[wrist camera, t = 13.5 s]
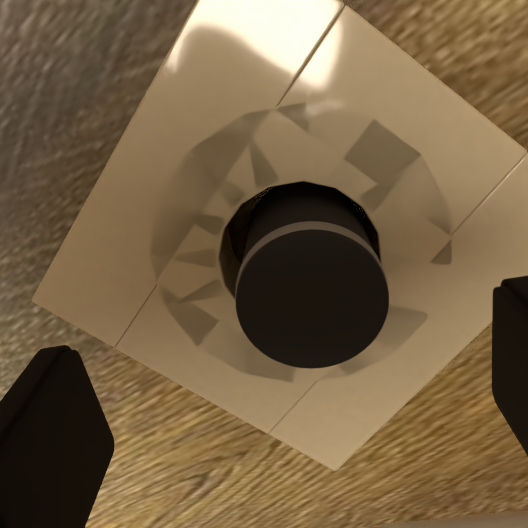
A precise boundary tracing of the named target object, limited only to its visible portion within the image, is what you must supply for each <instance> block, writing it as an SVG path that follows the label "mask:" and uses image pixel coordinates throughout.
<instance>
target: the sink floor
mask: <svg viewBox="0 0 528 528" xmlns="http://www.w3.org/2000/svg"><path fill="white" fill-rule="evenodd" d="M302 181H305V182H309V183H314V184H318V185H323V186H327V187H332V188H336V189H337V190H339V191H340V192H342V193H343V194H344V195H346V196H347V197H349V198H350V199H351V200H353V201H354V202H356V203H357V204H358V205H360V206H361V207H362V208H363V210H364V211H365V215H366V225H367V236H368V239H369V241H370V243H371V246H372V248H373V250H374V252H375V253H376V255H377V257H378V259H379V261H380V263H381V265H382V267H383V269H384V272H385V275H386V278H387V284H388V291H389V308H388V313H387V317H386V320H385V323H384V325H383V327H382V329H381V331H380V332H379V334H378V336H377V337H376V338H375V340H374V341H373V342H372V343H371V344H370V345H369V346H368V347H367V348H366V349H365V350H364V351H362V352H361V353H360V354H358V355H357V356H355V357H353V358H351V359H350V360H348V361H345V362H343V363H340V364H337V365H334V366H330V367H324V368H314V369H309V368H298V367H292V366H288V365H285V364H282V363H280V362H277V361H275V360H273V359H271V358H269V357H268V356H266V355H265V354H263V353H262V352H260V351H259V350H258V349H257V348H256V347H255V346H254V345H253V344H252V343H251V342H250V341H249V339H248V338H247V336H246V335H245V333H244V332H243V330H242V328H241V326H240V323H239V320H238V317H237V312H236V302H235V290H236V283H237V278H238V274H239V270H240V267H241V265H242V264H241V263H240V262H239V260H238V259H237V257H236V256H235V255H234V253H233V249H232V245H231V240H230V236H229V231H228V226H229V222H230V221H231V219H232V218H233V216H234V215H235V213H236V212H237V211H238V209H239V208H240V206H241V205H242V204H243V203H244V202H246V201H248V200H249V199H251V198H252V197H254V196H256V195H257V194H259V193H261V192H262V191H264V190H265V189H267V188H269V187H272V186H278V185H284V184H290V183H296V182H302ZM527 275H528V151H527V150H526V149H525V148H524V147H523V146H521V145H520V144H519V143H518V142H516V141H515V140H514V139H513V138H511V137H510V136H509V135H508V134H506V133H505V132H504V131H503V130H502V129H500V128H499V127H498V126H497V125H495V124H494V123H493V122H492V121H490V120H489V119H488V118H487V117H485V116H484V115H483V114H482V113H480V112H479V111H478V110H477V109H476V108H474V107H473V106H472V105H471V104H469V103H468V102H467V101H466V100H464V99H463V98H462V97H461V96H459V95H458V94H457V93H456V92H454V91H453V90H452V89H451V88H450V87H448V86H447V85H446V84H445V83H443V82H442V81H441V80H440V79H438V78H437V77H436V76H435V75H433V74H432V73H431V72H430V71H428V70H427V69H426V68H425V67H424V66H422V65H421V64H420V63H419V62H417V61H416V60H415V59H414V58H412V57H411V56H410V55H409V54H407V53H406V52H405V51H404V50H403V49H401V48H400V47H399V46H398V45H396V44H395V43H394V42H393V41H391V40H390V39H389V38H388V37H386V36H385V35H384V34H383V33H381V32H380V31H379V30H378V29H377V28H375V27H374V26H373V25H372V24H370V23H369V22H368V21H367V20H365V19H364V18H363V17H362V16H360V15H359V14H358V13H357V12H355V11H354V10H353V9H352V8H351V7H349V6H348V5H345V6H344V2H343V1H342V0H197V1H196V3H195V5H194V7H193V8H192V10H191V12H190V14H189V16H188V17H187V19H186V21H185V23H184V25H183V26H182V28H181V30H180V32H179V34H178V35H177V37H176V39H175V41H174V43H173V44H172V46H171V48H170V50H169V52H168V53H167V55H166V57H165V59H164V61H163V62H162V64H161V66H160V68H159V70H158V72H157V73H156V75H155V77H154V79H153V81H152V82H151V84H150V86H149V88H148V90H147V91H146V93H145V95H144V97H143V99H142V100H141V102H140V104H139V106H138V108H137V109H136V111H135V113H134V115H133V117H132V118H131V120H130V122H129V124H128V126H127V127H126V129H125V131H124V133H123V135H122V136H121V138H120V140H119V142H118V144H117V145H116V147H115V149H114V151H113V153H112V155H111V156H110V158H109V160H108V162H107V164H106V165H105V167H104V169H103V171H102V173H101V174H100V176H99V178H98V180H97V182H96V183H95V185H94V187H93V189H92V191H91V192H90V194H89V196H88V198H87V200H86V201H85V203H84V205H83V207H82V209H81V210H80V212H79V214H78V216H77V218H76V219H75V221H74V223H73V225H72V227H71V228H70V230H69V232H68V234H67V236H66V238H65V239H64V241H63V243H62V245H61V247H60V248H59V250H58V252H57V254H56V256H55V257H54V259H53V261H52V263H51V265H50V266H49V268H48V270H47V272H46V274H45V275H44V277H43V279H42V281H41V283H40V284H39V286H38V288H37V290H36V292H35V293H34V295H33V297H32V299H31V301H32V302H33V303H35V304H36V305H38V306H40V307H42V308H44V309H45V310H47V311H49V312H51V313H53V314H54V315H56V316H58V317H60V318H61V319H63V320H65V321H67V322H69V323H70V324H72V325H74V326H76V327H78V328H79V329H81V330H83V331H85V332H87V333H88V334H90V335H92V336H94V337H95V338H97V339H99V340H101V341H103V342H104V343H106V344H108V345H110V346H112V347H115V346H116V347H115V349H116V350H118V351H120V352H122V353H123V354H125V355H127V356H129V357H131V358H132V359H134V360H136V361H138V362H139V363H141V364H143V365H145V366H147V367H148V368H150V369H152V370H154V371H156V372H157V373H159V374H161V375H163V376H165V377H166V378H168V379H170V380H172V381H173V382H175V383H177V384H179V385H181V386H182V387H184V388H186V389H188V390H190V391H191V392H193V393H195V394H197V395H199V396H200V397H202V398H204V399H206V400H208V401H209V402H211V403H213V404H215V405H216V406H218V407H220V408H222V409H224V410H225V411H227V412H229V413H231V414H233V415H234V416H236V417H238V418H240V419H242V420H243V421H245V422H247V423H249V424H250V425H252V426H254V427H256V428H258V429H259V430H261V431H263V432H265V433H267V434H269V435H271V436H272V437H274V438H276V439H278V440H279V441H281V442H283V443H285V444H287V445H288V446H290V447H292V448H294V449H296V450H297V451H299V452H301V453H303V454H305V455H306V456H308V457H310V458H312V459H313V460H315V461H317V462H319V463H321V464H322V465H324V466H326V467H328V468H330V469H331V470H333V471H336V470H337V469H338V468H339V467H340V466H342V465H343V464H344V463H345V462H346V461H347V460H348V459H349V458H350V457H351V456H352V455H353V454H354V453H355V452H356V451H357V450H358V449H359V448H360V447H361V446H362V445H364V444H365V443H366V442H367V441H368V440H369V439H370V438H371V437H372V436H373V435H374V434H375V433H376V432H377V431H378V430H379V429H380V428H381V427H382V426H383V425H384V424H385V423H387V422H388V421H389V420H390V419H391V418H392V417H393V416H394V415H395V414H396V413H397V412H398V411H399V410H400V409H401V408H402V407H403V406H404V405H405V404H406V403H407V402H409V401H410V400H411V399H412V398H413V397H414V396H415V395H416V394H417V393H418V392H419V391H420V390H421V389H422V388H423V387H424V386H425V385H426V384H427V383H428V382H429V381H431V380H432V379H433V378H434V377H435V376H436V375H437V374H438V373H439V372H440V371H441V370H442V369H443V368H444V367H445V366H446V365H447V364H448V363H449V362H450V361H451V360H453V359H454V358H455V357H456V356H457V355H458V354H459V353H460V352H461V351H462V350H463V349H464V348H465V347H466V346H467V345H468V344H469V343H470V342H471V341H472V340H473V339H475V338H476V337H477V336H478V335H479V334H480V333H481V332H482V331H483V330H484V329H485V328H486V327H487V326H488V325H489V324H490V323H491V322H492V309H493V289H494V288H495V287H499V286H501V282H502V280H503V279H508V278H514V277H521V276H527Z"/></svg>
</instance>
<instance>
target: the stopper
mask: <svg viewBox="0 0 528 528" xmlns="http://www.w3.org/2000/svg"><path fill="white" fill-rule="evenodd" d="M235 302H236V312H237V317H238V320H239V323H240V326H241V328H242V330H243V332H244V333H245V335H246V336H247V338H248V339H249V341H250V342H251V343H252V344H253V345H254V346H255V347H256V348H257V349H258V350H259V351H260V352H262V353H263V354H265V355H266V356H268V357H269V358H271V359H273V360H275V361H277V362H280V363H282V364H285V365H288V366H292V367H298V368H309V369H314V368H324V367H330V366H334V365H337V364H340V363H343V362H345V361H348V360H350V359H351V358H353V357H355V356H357V355H358V354H360V353H361V352H362V351H364V350H365V349H366V348H367V347H368V346H369V345H370V344H371V343H372V342H373V341H374V340H375V338H376V337H377V336H378V334H379V332H380V331H381V329H382V327H383V325H384V323H385V320H386V317H387V313H388V308H389V291H388V284H387V278H386V275H385V272H384V269H383V267H382V265H381V263H380V261H379V259H378V257H377V255H376V253H375V252H374V250H373V248H372V246H371V243H370V241H369V239H368V236H367V234H366V232H365V229H364V227H363V225H362V222H361V220H360V217H359V215H358V213H357V210H356V208H355V207H354V205H353V203H352V202H351V200H350V199H349V198H348V197H347V196H346V195H344V194H343V193H342V192H340V191H339V190H337V189H336V188H332V187H327V186H323V185H318V184H314V183H309V182H305V181H302V182H296V183H290V184H284V185H278V186H276V187H274V188H273V189H272V190H270V191H269V192H268V193H267V194H266V195H264V196H263V198H262V199H261V200H260V201H259V202H258V204H257V206H256V207H255V209H254V211H253V214H252V216H251V220H250V224H249V229H248V235H247V240H246V245H245V250H244V255H243V261H242V265H241V267H240V270H239V274H238V278H237V283H236V290H235Z"/></svg>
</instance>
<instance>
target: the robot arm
mask: <svg viewBox="0 0 528 528" xmlns="http://www.w3.org/2000/svg"><path fill="white" fill-rule="evenodd" d="M492 392H493V396H494V399H495V402H496V404H497V406H498V408H499V409H500V411H501V413H502V414H503V416H504V417H505V419H506V421H507V422H508V424H509V426H510V427H511V429H512V431H513V432H514V434H515V436H516V437H517V439H518V441H519V442H520V444H521V446H522V447H523V449H524V450H525V452H526V454H527V455H528V275H527V276H521V277H514V278H508V279H503V280H502V282H501V286H499V287H495V288H494V289H493V309H492ZM113 452H114V438H113V435H112V433H111V430H110V428H109V425H108V423H107V420H106V418H105V415H104V413H103V411H102V408H101V406H100V403H99V401H98V398H97V396H96V393H95V391H94V388H93V386H92V384H91V381H90V379H89V376H88V374H87V371H86V369H85V366H84V364H83V361H82V359H81V357H80V355H79V353H78V352H77V351H76V350H72V349H71V348H70V347H69V346H67V345H62V346H56V347H49V348H43V349H40V350H39V351H38V352H37V354H36V355H35V356H34V358H33V359H32V360H31V361H30V363H29V364H28V365H27V367H26V368H25V369H24V371H23V372H22V373H21V375H20V376H19V377H18V379H17V380H16V381H15V383H14V384H13V385H12V387H11V388H10V389H9V391H8V392H7V393H6V395H5V396H4V397H3V399H2V400H1V401H0V528H85V525H86V523H87V520H88V518H89V515H90V512H91V510H92V507H93V505H94V502H95V499H96V497H97V494H98V492H99V489H100V487H101V484H102V481H103V479H104V476H105V474H106V471H107V468H108V466H109V463H110V461H111V458H112V456H113ZM354 528H528V510H526V511H515V512H504V513H492V514H481V515H471V516H462V517H452V518H442V519H432V520H422V521H413V522H403V523H393V524H383V525H373V526H364V527H354Z"/></svg>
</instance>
